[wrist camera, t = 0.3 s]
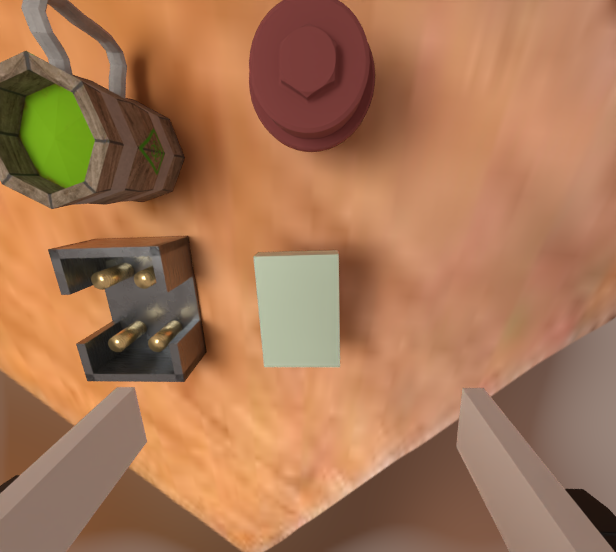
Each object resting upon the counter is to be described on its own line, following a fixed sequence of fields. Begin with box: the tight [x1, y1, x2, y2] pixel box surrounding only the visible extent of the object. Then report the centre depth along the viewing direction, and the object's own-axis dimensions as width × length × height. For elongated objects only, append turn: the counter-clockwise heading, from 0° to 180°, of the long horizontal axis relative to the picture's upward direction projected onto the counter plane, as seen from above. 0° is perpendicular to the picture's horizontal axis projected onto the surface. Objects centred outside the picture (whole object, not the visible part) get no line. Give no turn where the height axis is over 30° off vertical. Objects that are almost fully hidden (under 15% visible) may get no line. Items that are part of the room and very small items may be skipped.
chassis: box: [48, 236, 206, 382], centre depth 36 cm, size 16×12×6 cm
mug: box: [0, 0, 185, 209], centre depth 27 cm, size 16×11×12 cm
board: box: [254, 250, 340, 367], centre depth 30 cm, size 12×8×2 cm, turn 2°
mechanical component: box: [249, 0, 375, 152], centre depth 25 cm, size 12×10×10 cm
